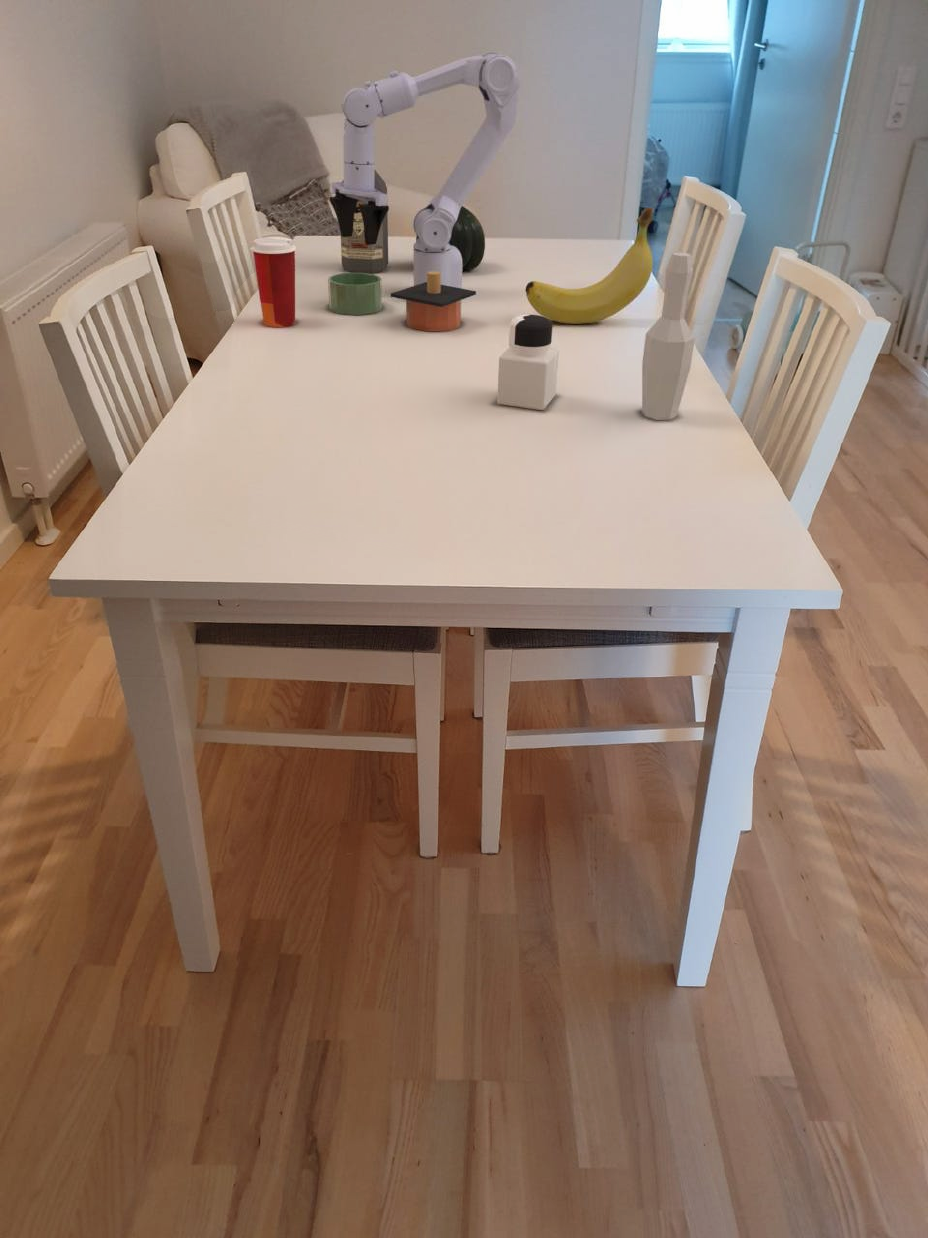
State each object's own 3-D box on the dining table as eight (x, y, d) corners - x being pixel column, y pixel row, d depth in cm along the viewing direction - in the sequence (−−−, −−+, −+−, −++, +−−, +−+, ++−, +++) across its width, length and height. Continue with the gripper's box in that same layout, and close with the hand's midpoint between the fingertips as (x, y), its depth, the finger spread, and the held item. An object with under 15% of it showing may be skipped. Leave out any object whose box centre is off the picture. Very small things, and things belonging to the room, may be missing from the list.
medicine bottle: (556, 395, 143) (562, 314, 137) (543, 411, 138) (549, 327, 131) (510, 389, 145) (514, 308, 139) (496, 404, 140) (499, 321, 133)
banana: (525, 326, 174) (532, 208, 163) (521, 317, 179) (528, 202, 168) (647, 327, 176) (662, 210, 165) (640, 318, 181) (654, 204, 170)
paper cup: (305, 318, 175) (300, 237, 168) (295, 329, 169) (289, 246, 161) (263, 315, 176) (256, 235, 168) (251, 327, 169) (244, 244, 162)
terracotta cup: (436, 313, 180) (437, 286, 177) (471, 325, 174) (472, 297, 171) (395, 322, 175) (395, 293, 172) (430, 334, 168) (430, 305, 166)
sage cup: (361, 298, 188) (360, 269, 185) (392, 309, 182) (391, 279, 179) (319, 306, 182) (317, 277, 179) (350, 317, 176) (348, 287, 173)
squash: (485, 253, 200) (484, 187, 202) (413, 253, 200) (414, 188, 203) (485, 287, 214) (484, 225, 216) (418, 287, 214) (418, 226, 217)
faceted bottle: (654, 424, 134) (677, 261, 123) (628, 410, 139) (647, 251, 127) (690, 418, 137) (716, 257, 125) (663, 404, 142) (685, 247, 130)
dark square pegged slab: (426, 284, 178) (426, 262, 176) (476, 294, 173) (476, 271, 171) (390, 296, 170) (390, 273, 168) (441, 307, 165) (442, 283, 163)
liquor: (349, 262, 214) (344, 110, 198) (390, 264, 213) (387, 112, 197) (339, 271, 206) (333, 114, 190) (381, 274, 205) (378, 116, 189)
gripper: (318, 157, 179) (319, 234, 186) (365, 168, 170) (365, 249, 177) (348, 156, 183) (348, 231, 190) (396, 167, 174) (394, 246, 181)
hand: (358, 240), depth 184 cm, fingers open, 7 cm apart
